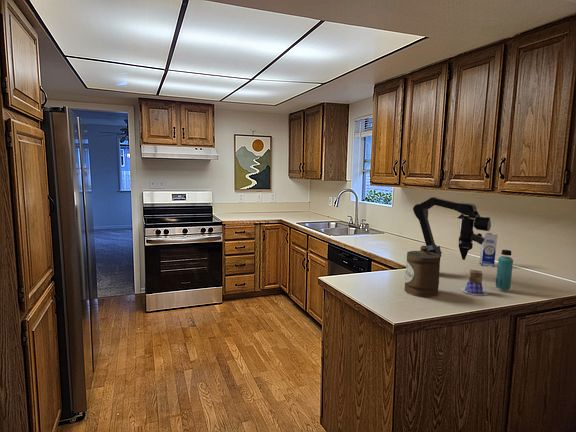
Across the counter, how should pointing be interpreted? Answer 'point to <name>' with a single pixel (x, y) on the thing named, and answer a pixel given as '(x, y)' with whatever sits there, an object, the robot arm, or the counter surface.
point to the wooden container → (422, 273)
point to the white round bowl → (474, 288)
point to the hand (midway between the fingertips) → (463, 257)
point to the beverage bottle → (504, 271)
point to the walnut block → (475, 276)
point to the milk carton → (488, 250)
